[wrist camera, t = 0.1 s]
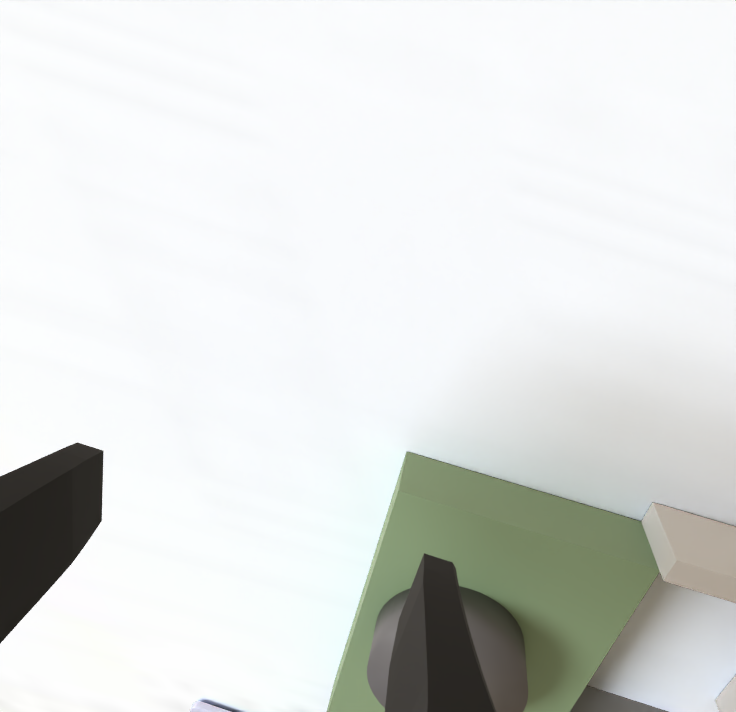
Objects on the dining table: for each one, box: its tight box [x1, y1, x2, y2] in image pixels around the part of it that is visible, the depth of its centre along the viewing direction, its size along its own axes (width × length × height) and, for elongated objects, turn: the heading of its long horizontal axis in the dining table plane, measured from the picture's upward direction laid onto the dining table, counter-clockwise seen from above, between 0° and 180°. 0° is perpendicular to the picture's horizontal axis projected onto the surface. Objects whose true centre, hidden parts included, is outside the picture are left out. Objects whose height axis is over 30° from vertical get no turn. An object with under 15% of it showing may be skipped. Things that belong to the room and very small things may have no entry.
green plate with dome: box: [327, 452, 736, 712], centre depth 23 cm, size 16×18×4 cm
